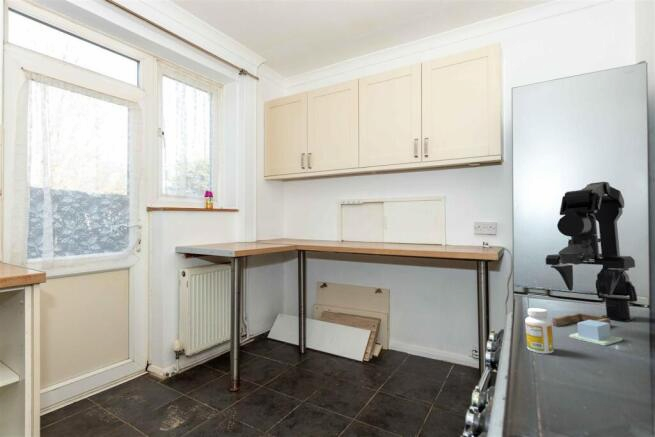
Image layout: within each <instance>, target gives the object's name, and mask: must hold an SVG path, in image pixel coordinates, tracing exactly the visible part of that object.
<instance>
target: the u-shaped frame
mask: <svg viewBox="0 0 655 437" xmlns="http://www.w3.org/2000/svg"><path fill="white" fill-rule="evenodd" d="M586 320H594V321H600V322H605V323H610V327H611V326H612V325H611V319H609V318H604V317H601V316H596V315H591V314H586V313H580V312H578V313H577V312H576V313H572V314H567V315H563V316H557V317H553V318H552V327H561V326H566V325H570V324H573V323H579V322H583V321H586Z"/></svg>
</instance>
